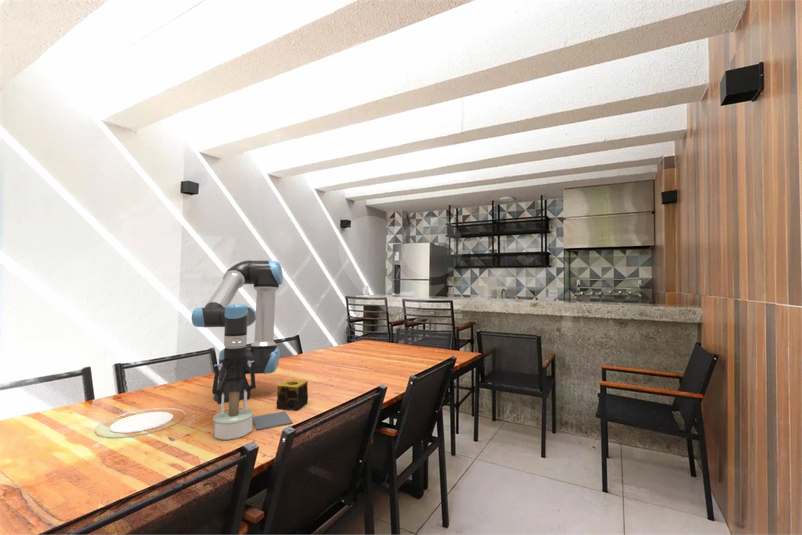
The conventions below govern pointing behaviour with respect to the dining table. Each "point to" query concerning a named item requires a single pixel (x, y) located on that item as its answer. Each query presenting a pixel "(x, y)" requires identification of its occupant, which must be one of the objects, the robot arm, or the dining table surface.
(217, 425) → the bowl
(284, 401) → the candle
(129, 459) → the dining table surface
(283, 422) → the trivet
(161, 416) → the plate
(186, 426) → the dining table surface
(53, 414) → the dining table surface
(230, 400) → the lid
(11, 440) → the dining table surface
